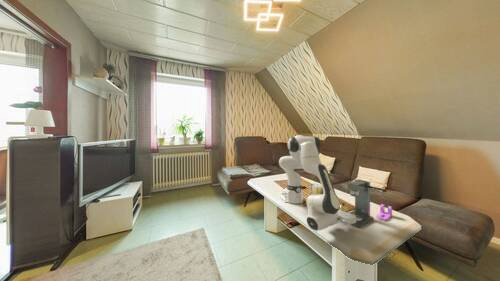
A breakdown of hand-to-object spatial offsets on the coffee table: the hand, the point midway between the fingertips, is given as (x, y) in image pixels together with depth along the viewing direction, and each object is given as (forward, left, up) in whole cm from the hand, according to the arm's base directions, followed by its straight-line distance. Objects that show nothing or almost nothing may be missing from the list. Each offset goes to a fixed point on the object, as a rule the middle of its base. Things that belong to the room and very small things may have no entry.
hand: (344, 210), depth 105 cm
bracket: (+2, +35, -10) cm, 36 cm away
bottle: (0, -1, -5) cm, 6 cm away
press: (+1, +15, -10) cm, 18 cm away
